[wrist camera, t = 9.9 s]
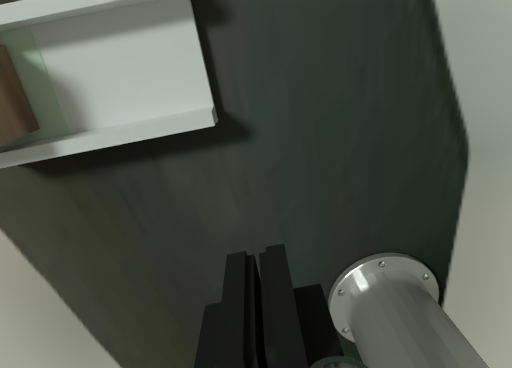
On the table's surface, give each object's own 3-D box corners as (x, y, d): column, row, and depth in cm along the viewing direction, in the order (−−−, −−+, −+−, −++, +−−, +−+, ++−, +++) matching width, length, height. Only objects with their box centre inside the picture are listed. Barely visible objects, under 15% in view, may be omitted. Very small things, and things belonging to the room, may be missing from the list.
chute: (184, -26, 28) (176, -37, 25) (218, 120, 33) (215, 129, 29) (-55, 23, 29) (-98, 20, 25) (10, 161, 33) (-19, 175, 29)
